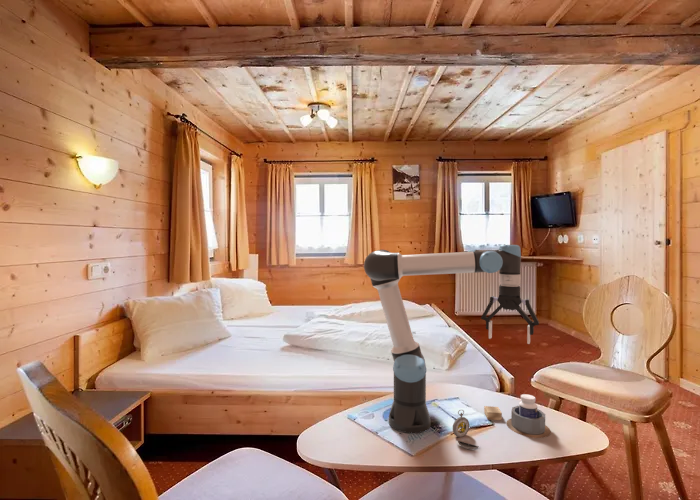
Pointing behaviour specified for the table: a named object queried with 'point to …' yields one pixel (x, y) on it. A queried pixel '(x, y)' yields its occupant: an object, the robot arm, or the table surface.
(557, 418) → the table surface
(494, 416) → the oak block
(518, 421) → the grey round bowl
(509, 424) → the board
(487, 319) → the robot arm
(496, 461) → the table surface
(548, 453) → the table surface
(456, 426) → the pocket watch
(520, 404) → the pill bottle
